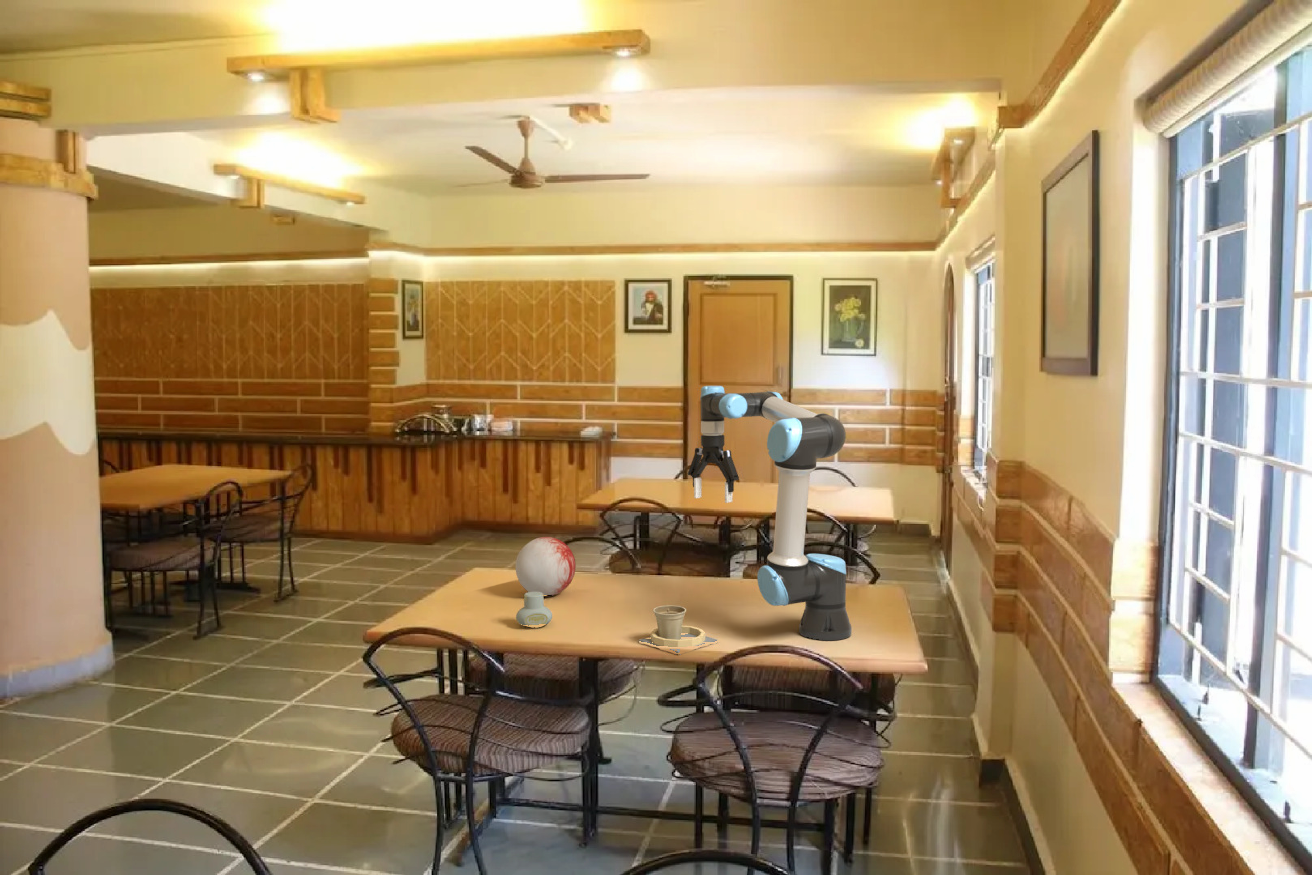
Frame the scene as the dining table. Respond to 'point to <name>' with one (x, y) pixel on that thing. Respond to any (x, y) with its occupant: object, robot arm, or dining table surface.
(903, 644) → the dining table surface
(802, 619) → the robot arm
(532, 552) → the decorative orb
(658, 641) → the collar plate
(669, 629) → the flower pot
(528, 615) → the air freshener
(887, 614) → the dining table surface
